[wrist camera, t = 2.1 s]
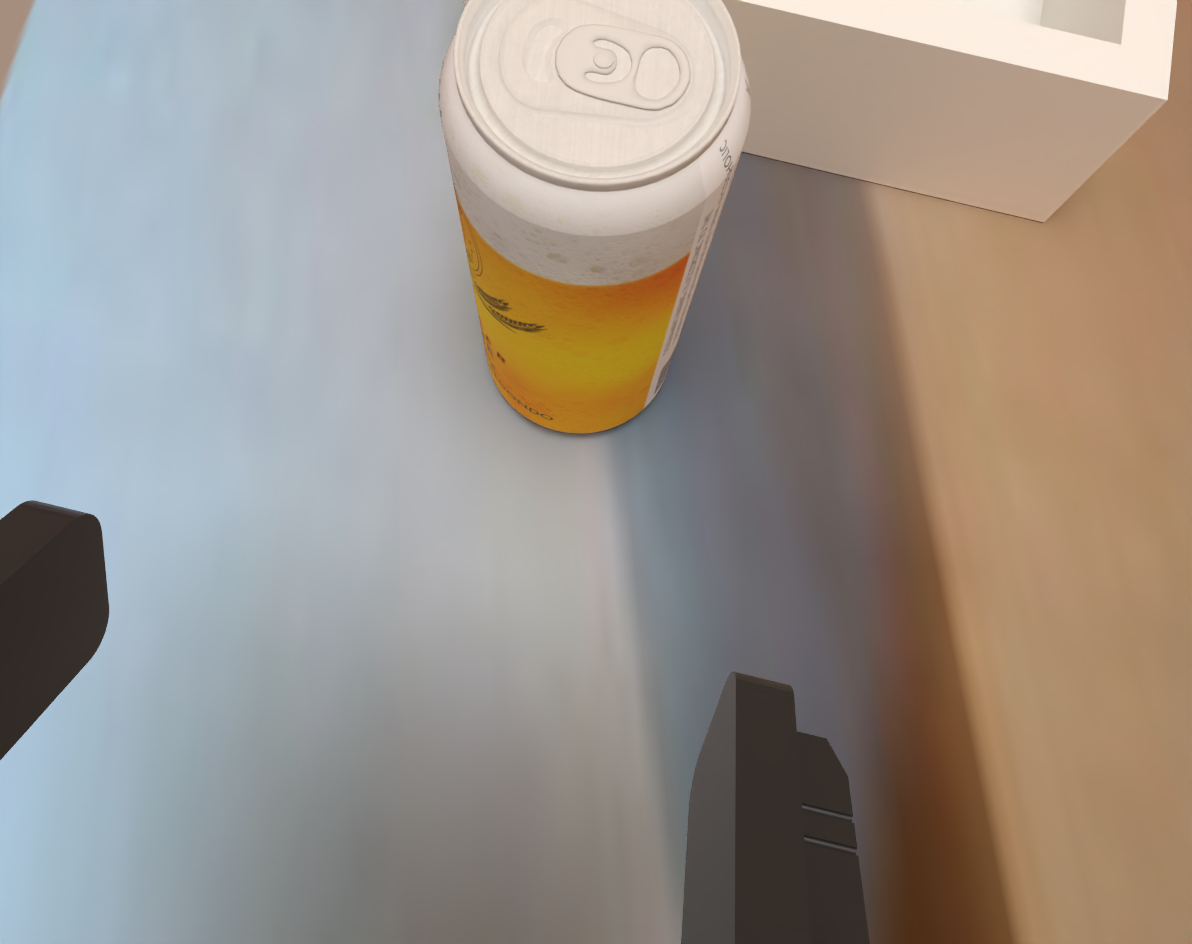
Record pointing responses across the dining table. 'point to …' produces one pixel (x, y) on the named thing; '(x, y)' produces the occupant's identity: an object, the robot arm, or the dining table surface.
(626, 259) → the beer can
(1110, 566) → the dining table surface
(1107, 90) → the white rectangular tray
